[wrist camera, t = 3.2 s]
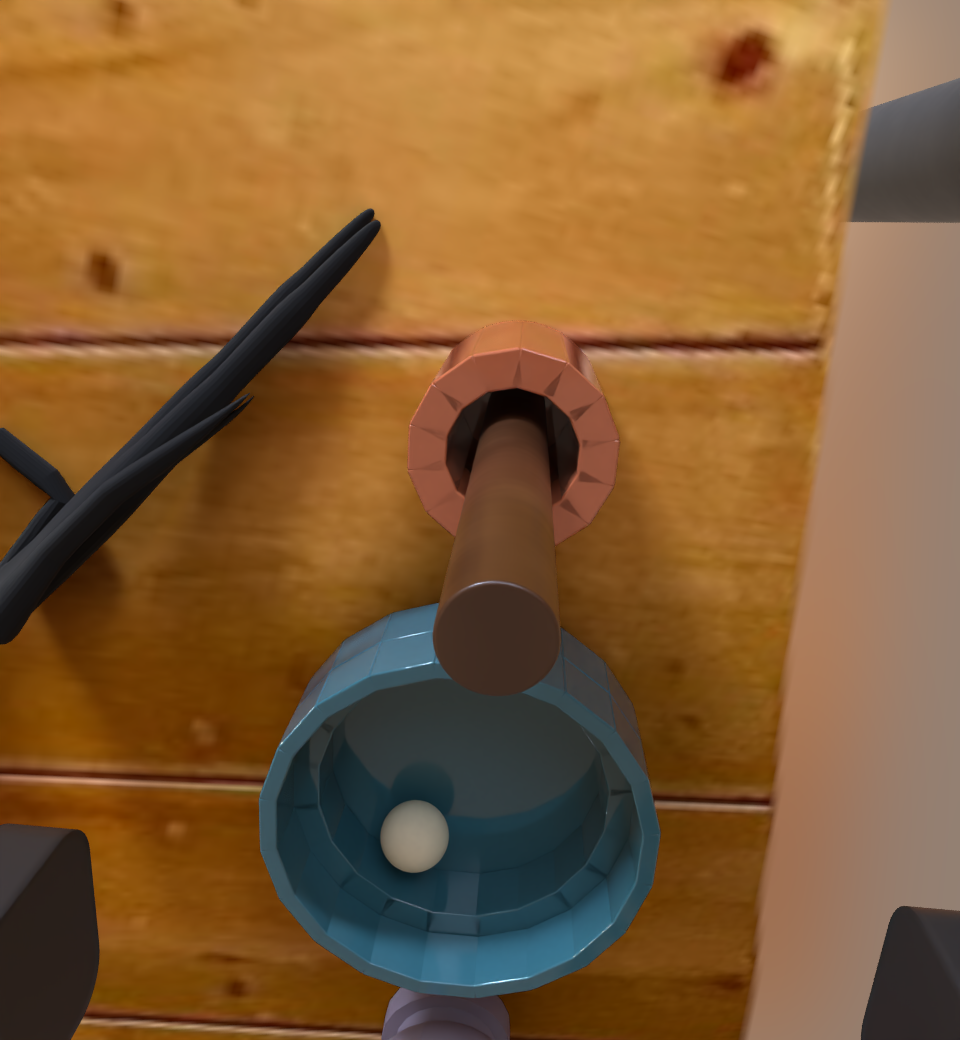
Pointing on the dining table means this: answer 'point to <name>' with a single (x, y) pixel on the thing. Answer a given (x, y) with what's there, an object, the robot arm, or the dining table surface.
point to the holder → (569, 416)
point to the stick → (503, 558)
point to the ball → (414, 836)
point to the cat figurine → (445, 1018)
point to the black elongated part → (158, 438)
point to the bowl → (460, 815)
